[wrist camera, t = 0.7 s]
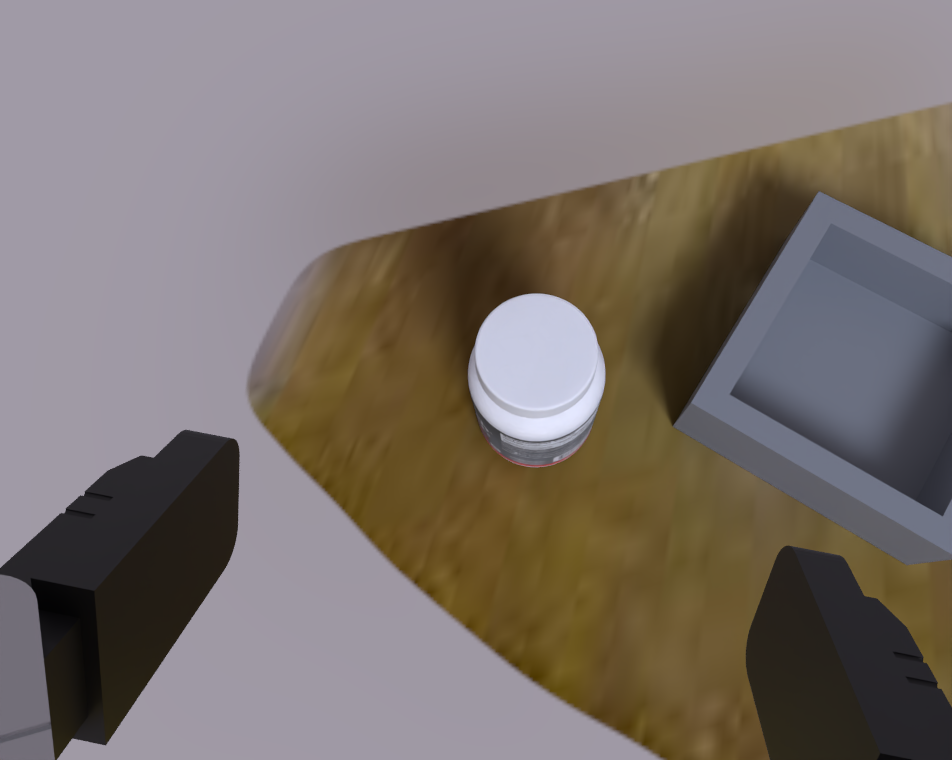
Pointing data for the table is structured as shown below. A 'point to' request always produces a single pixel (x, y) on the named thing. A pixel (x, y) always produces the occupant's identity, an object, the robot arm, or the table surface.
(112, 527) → the robot arm
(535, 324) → the pill bottle
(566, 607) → the table surface
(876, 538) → the bin
